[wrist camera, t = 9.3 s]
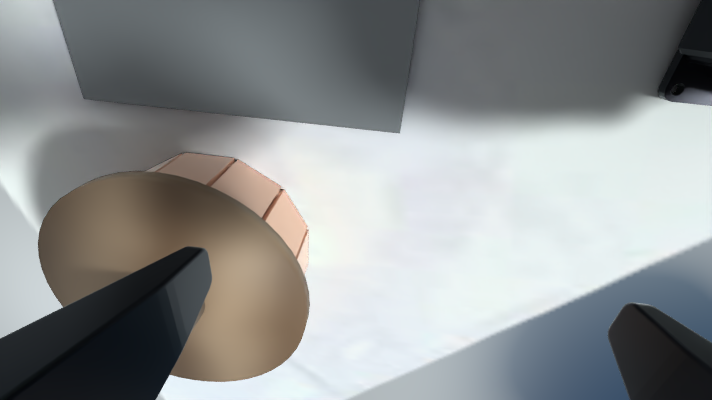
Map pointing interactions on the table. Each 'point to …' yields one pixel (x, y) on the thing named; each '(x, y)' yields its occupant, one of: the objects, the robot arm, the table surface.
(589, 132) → the table surface
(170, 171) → the bowl
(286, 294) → the lid
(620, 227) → the table surface
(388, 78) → the mat
